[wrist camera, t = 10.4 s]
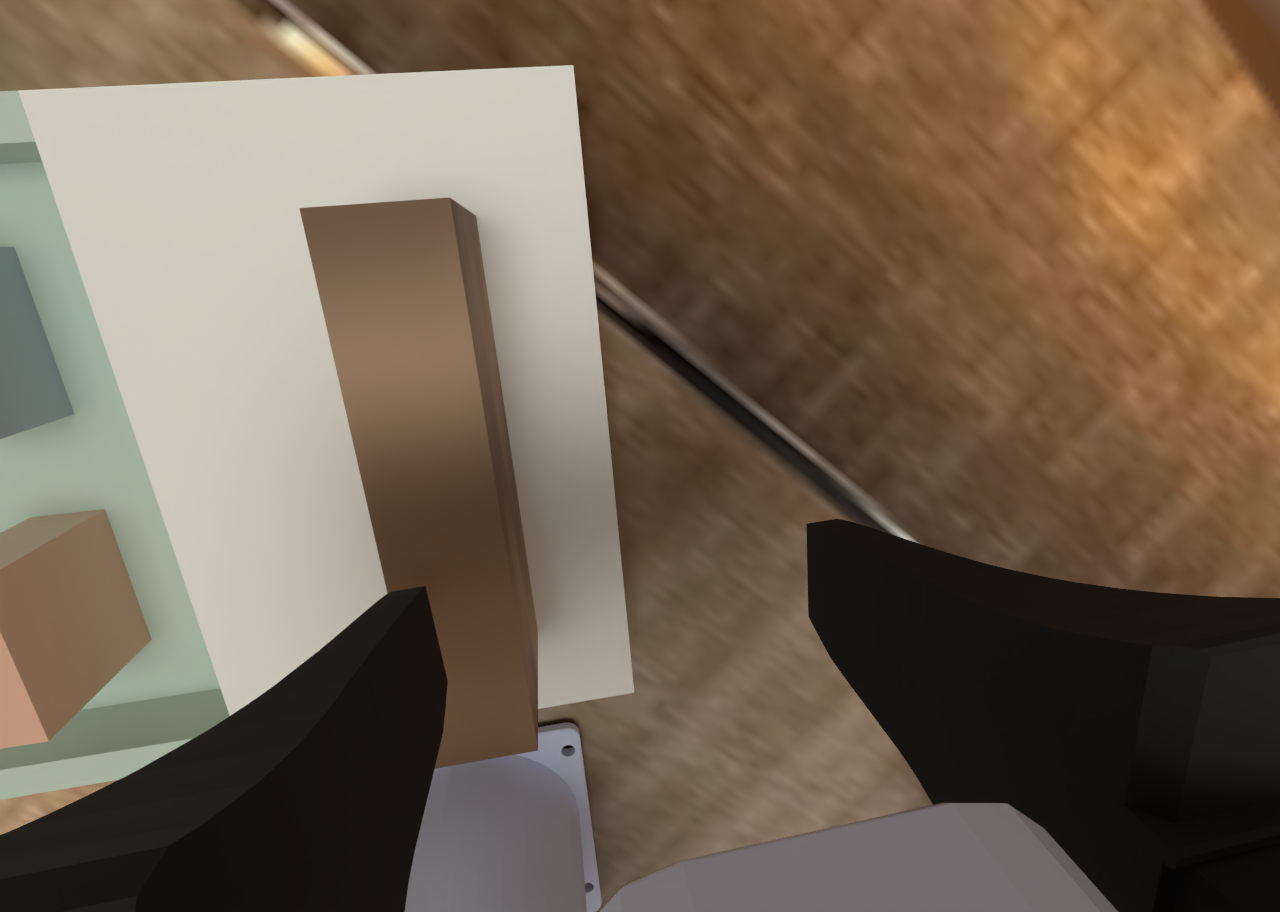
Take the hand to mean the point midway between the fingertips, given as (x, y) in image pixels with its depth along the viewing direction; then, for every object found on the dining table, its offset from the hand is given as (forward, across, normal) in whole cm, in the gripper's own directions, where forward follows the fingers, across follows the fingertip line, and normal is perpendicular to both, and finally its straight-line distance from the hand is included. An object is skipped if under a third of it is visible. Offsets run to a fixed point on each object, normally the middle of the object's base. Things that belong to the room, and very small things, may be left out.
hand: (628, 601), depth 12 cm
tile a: (+7, +14, +2) cm, 16 cm away
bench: (+10, +6, -2) cm, 11 cm away
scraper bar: (+7, +4, -1) cm, 8 cm away
